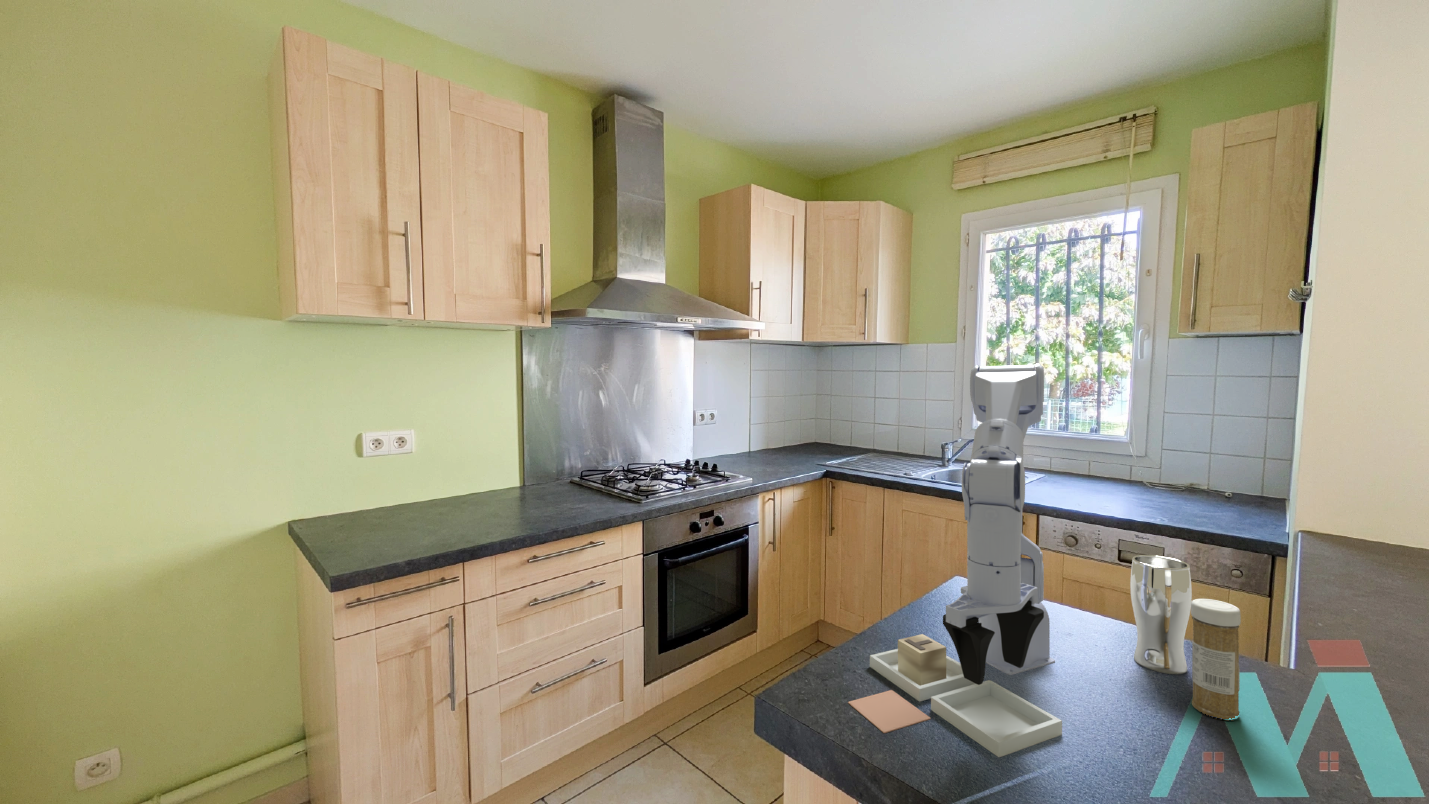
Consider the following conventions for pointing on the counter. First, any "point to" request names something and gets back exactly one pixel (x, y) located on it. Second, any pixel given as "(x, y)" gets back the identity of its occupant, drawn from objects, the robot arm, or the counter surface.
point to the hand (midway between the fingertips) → (993, 672)
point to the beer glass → (1161, 611)
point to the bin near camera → (996, 717)
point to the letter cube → (921, 659)
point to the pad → (888, 711)
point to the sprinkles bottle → (1215, 658)
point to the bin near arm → (889, 669)
